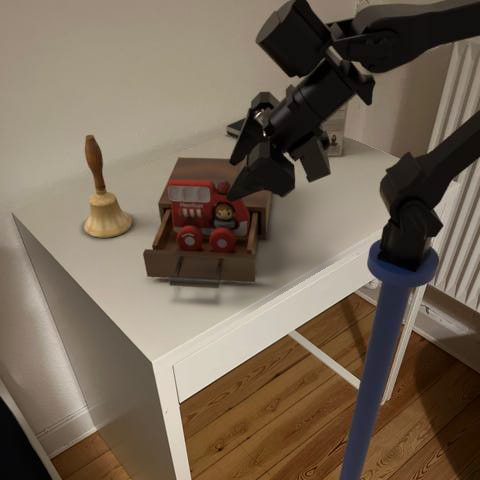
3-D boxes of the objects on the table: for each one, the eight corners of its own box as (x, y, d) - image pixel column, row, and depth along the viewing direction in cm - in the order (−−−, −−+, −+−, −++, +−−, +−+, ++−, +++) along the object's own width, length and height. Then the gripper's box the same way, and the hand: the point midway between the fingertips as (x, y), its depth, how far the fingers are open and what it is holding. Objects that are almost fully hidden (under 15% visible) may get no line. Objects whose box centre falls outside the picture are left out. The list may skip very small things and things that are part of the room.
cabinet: (265, 239, 84) (266, 207, 80) (162, 235, 86) (157, 203, 82) (272, 190, 96) (273, 159, 92) (181, 187, 98) (178, 157, 94)
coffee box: (308, 138, 113) (314, 60, 102) (337, 138, 112) (346, 60, 101) (312, 157, 106) (318, 76, 95) (342, 156, 106) (352, 75, 95)
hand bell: (124, 208, 93) (106, 121, 82) (138, 230, 87) (121, 140, 76) (79, 220, 90) (55, 132, 79) (91, 243, 85) (66, 152, 74)
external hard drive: (246, 125, 119) (246, 117, 117) (282, 138, 113) (282, 129, 112) (225, 134, 115) (225, 126, 114) (261, 148, 109) (261, 139, 108)
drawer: (252, 301, 71) (252, 277, 69) (139, 295, 73) (134, 271, 70) (263, 225, 86) (263, 202, 83) (169, 221, 87) (166, 199, 84)
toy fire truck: (247, 256, 78) (246, 195, 70) (168, 251, 79) (159, 191, 72) (251, 231, 83) (251, 171, 75) (177, 227, 84) (170, 169, 77)
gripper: (362, 182, 61) (270, 254, 69) (346, 111, 73) (269, 179, 82) (300, 120, 55) (208, 206, 64) (293, 55, 68) (217, 134, 76)
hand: (229, 180), depth 72 cm, fingers open, 9 cm apart
